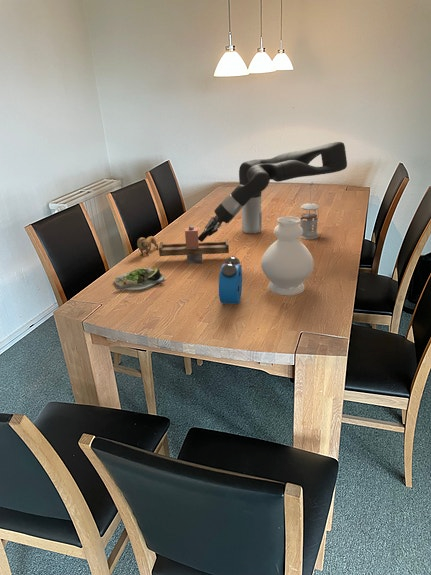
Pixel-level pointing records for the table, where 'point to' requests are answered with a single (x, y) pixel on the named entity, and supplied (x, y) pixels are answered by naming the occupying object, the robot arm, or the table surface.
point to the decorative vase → (287, 259)
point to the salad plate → (139, 279)
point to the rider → (191, 237)
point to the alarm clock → (230, 281)
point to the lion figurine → (146, 244)
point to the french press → (309, 220)
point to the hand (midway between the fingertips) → (199, 239)
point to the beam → (194, 250)
